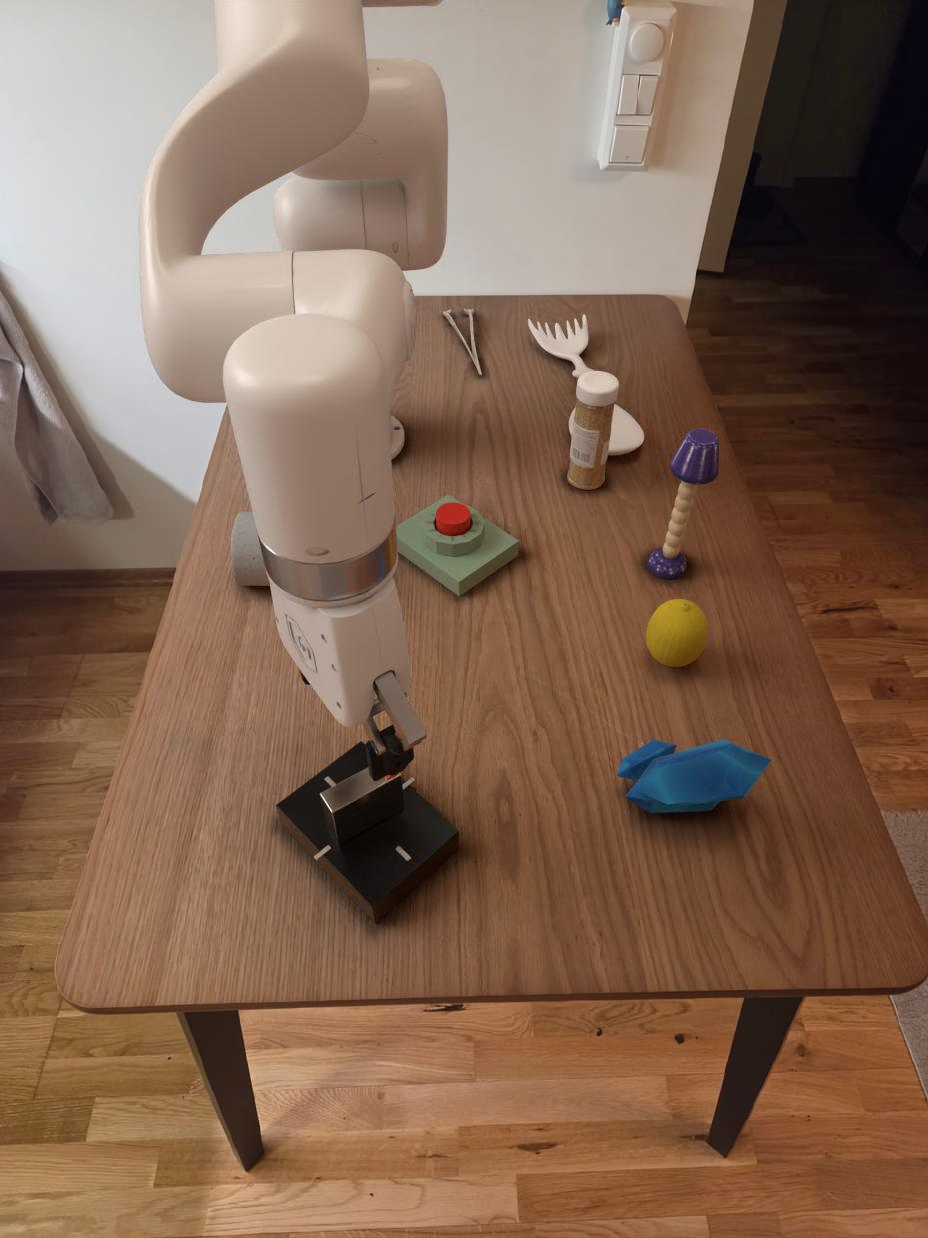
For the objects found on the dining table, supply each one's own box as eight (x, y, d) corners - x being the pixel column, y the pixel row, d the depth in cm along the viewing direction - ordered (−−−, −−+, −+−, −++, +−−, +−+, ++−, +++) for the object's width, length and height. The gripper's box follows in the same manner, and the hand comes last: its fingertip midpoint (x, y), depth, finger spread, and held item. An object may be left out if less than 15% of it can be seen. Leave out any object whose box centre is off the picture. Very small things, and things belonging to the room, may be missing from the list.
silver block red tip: (338, 846, 67) (331, 811, 63) (326, 826, 68) (318, 791, 64) (405, 808, 69) (401, 772, 65) (392, 790, 70) (388, 754, 66)
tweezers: (441, 316, 129) (441, 303, 128) (472, 313, 130) (473, 301, 129) (463, 385, 119) (464, 373, 117) (496, 382, 119) (497, 370, 118)
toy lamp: (659, 545, 95) (689, 416, 83) (698, 562, 93) (735, 432, 81) (639, 569, 92) (667, 440, 80) (679, 587, 90) (714, 457, 78)
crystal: (605, 724, 70) (753, 692, 69) (615, 778, 76) (750, 750, 75) (625, 804, 65) (785, 771, 64) (634, 855, 71) (780, 826, 70)
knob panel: (274, 828, 71) (268, 808, 69) (369, 755, 76) (366, 735, 74) (369, 930, 65) (365, 912, 63) (464, 844, 70) (464, 824, 68)
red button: (429, 525, 91) (428, 512, 90) (453, 510, 93) (453, 497, 92) (452, 541, 90) (452, 529, 88) (477, 525, 91) (477, 513, 90)
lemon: (663, 691, 81) (679, 634, 75) (629, 651, 84) (641, 594, 78) (709, 670, 83) (728, 613, 77) (674, 632, 86) (690, 575, 80)
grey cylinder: (317, 601, 89) (308, 544, 83) (237, 600, 89) (223, 544, 83) (328, 534, 96) (320, 478, 90) (255, 533, 96) (242, 477, 90)
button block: (389, 545, 95) (387, 517, 92) (448, 508, 99) (447, 481, 96) (459, 596, 89) (459, 569, 86) (518, 555, 94) (520, 527, 91)
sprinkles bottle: (612, 483, 102) (628, 383, 92) (582, 496, 101) (595, 396, 91) (587, 463, 105) (601, 364, 95) (558, 476, 103) (568, 376, 93)
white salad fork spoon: (584, 332, 126) (586, 310, 124) (651, 463, 105) (656, 440, 102) (524, 337, 125) (525, 315, 123) (580, 470, 104) (583, 447, 101)
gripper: (204, 483, 51) (254, 663, 64) (346, 671, 42) (372, 839, 55) (316, 440, 54) (343, 621, 67) (473, 608, 45) (469, 781, 57)
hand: (356, 719), depth 61 cm, fingers open, 9 cm apart
